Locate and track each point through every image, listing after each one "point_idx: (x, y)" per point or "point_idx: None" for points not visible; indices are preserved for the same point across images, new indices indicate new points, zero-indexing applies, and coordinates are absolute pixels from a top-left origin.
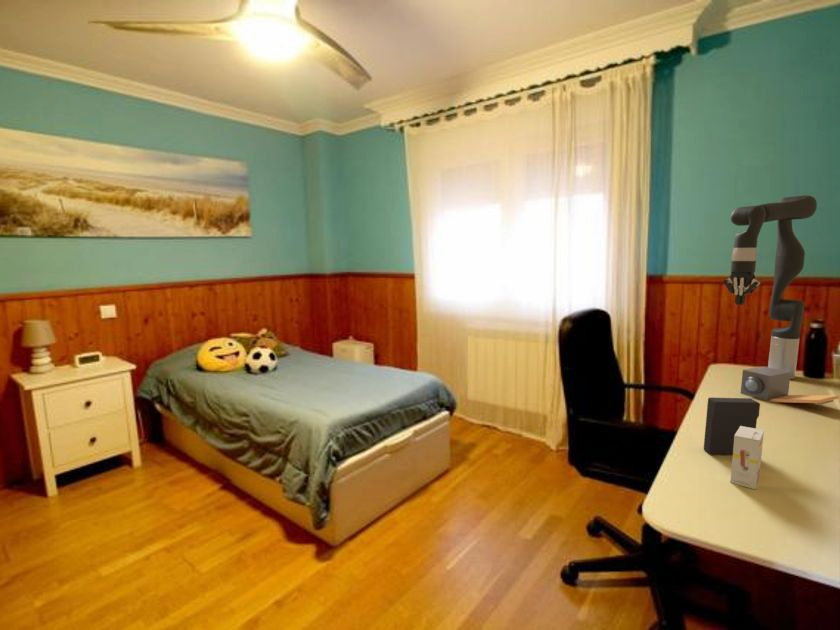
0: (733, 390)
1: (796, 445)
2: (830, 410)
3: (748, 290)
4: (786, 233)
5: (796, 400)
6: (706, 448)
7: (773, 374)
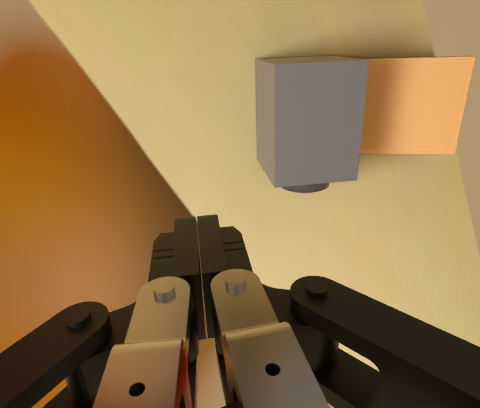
0: (215, 128)
1: (447, 307)
2: (429, 52)
3: (356, 392)
4: None
5: (398, 153)
6: None
7: (353, 151)
